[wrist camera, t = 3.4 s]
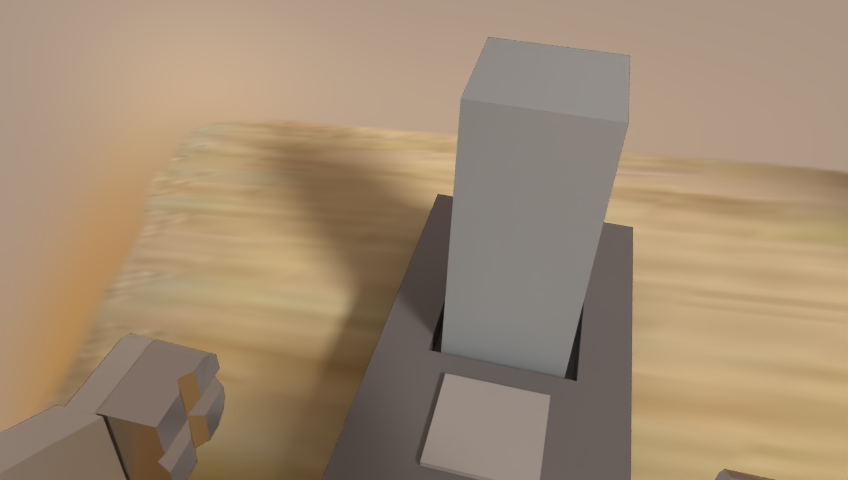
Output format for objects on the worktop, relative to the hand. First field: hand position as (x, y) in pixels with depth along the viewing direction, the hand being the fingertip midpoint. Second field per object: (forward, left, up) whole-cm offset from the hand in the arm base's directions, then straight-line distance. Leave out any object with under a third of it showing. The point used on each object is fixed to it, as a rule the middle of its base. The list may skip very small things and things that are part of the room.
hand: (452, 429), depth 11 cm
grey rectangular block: (-3, -12, -10) cm, 16 cm away
